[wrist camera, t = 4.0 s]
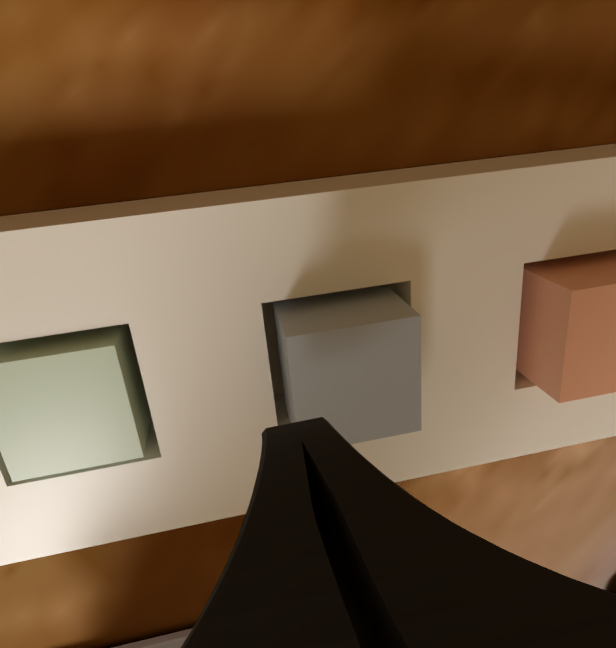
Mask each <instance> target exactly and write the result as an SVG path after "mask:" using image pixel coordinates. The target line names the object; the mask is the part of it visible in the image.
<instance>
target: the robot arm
mask: <svg viewBox="0 0 616 648" xmlns="http://www.w3.org/2000/svg"><path fill="white" fill-rule="evenodd" d="M112 648H616V594H614V593H611V592H608V591H606V590H603V589H600V588H597V587H594V586H591V585H589V584H586V583H583V582H580V581H577V580H574V579H571V578H569V577H566V576H564V575H561V574H559V573H557V572H554V571H552V570H549V569H547V568H545V567H542V566H540V565H538V564H535V563H533V562H531V561H528V560H526V559H524V558H521V557H519V556H517V555H515V554H513V553H511V552H508V551H506V550H504V549H502V548H500V547H498V546H496V545H494V544H492V543H490V542H489V541H487V540H485V539H483V538H481V537H479V536H477V535H475V534H473V533H471V532H469V531H467V530H465V529H464V528H462V527H460V526H458V525H456V524H455V523H453V522H451V521H450V520H448V519H446V518H445V517H443V516H442V515H440V514H438V513H437V512H435V511H434V510H432V509H431V508H429V507H428V506H426V505H425V504H423V503H422V502H420V501H419V500H417V499H416V498H415V497H413V496H412V495H410V494H409V493H408V492H406V491H405V490H404V489H402V488H401V487H400V486H398V485H397V484H396V483H394V482H393V481H392V480H391V479H389V478H388V477H387V476H386V475H384V474H383V473H382V472H381V471H380V470H378V469H377V468H376V467H375V466H374V465H373V464H372V463H370V462H369V461H368V460H367V459H366V458H365V457H363V456H362V455H361V454H360V453H359V452H358V451H357V450H356V449H355V448H354V447H353V446H352V445H351V444H350V443H349V442H347V441H346V440H345V439H344V438H343V437H342V436H341V435H340V434H339V433H338V431H337V430H336V429H335V428H334V427H333V426H332V425H331V424H330V423H329V422H328V421H327V420H326V419H325V418H323V417H319V418H314V419H309V420H304V421H299V422H294V423H289V424H284V425H279V426H274V427H269V428H266V429H265V430H264V431H263V432H262V450H261V457H260V463H259V468H258V473H257V477H256V481H255V485H254V489H253V493H252V496H251V500H250V503H249V506H248V509H247V512H246V515H245V518H244V521H243V524H242V527H241V529H240V532H239V535H238V537H237V540H236V542H235V545H234V547H233V550H232V552H231V554H230V557H229V559H228V561H227V563H226V566H225V568H224V570H223V572H222V574H221V576H220V578H219V580H218V582H217V584H216V586H215V588H214V590H213V592H212V594H211V596H210V598H209V600H208V602H207V604H206V606H205V607H204V609H203V611H202V613H201V615H200V617H199V618H198V620H197V622H196V624H195V625H194V627H193V628H192V629H187V630H183V631H179V632H175V633H171V634H167V635H162V636H158V637H154V638H150V639H146V640H142V641H137V642H133V643H129V644H125V645H121V646H117V647H112Z"/></svg>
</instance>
